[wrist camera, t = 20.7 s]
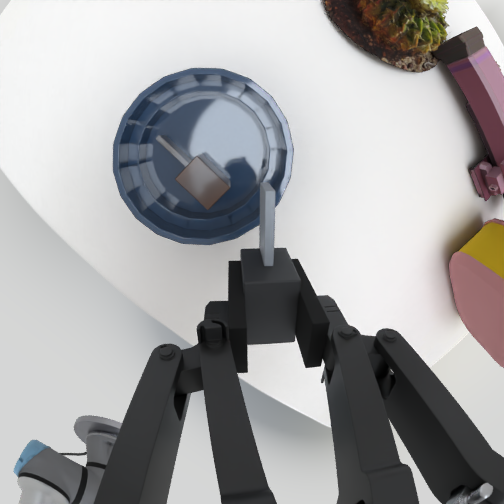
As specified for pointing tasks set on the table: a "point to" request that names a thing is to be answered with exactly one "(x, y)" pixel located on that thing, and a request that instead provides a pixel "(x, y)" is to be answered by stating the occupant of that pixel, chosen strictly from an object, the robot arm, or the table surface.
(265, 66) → the table surface
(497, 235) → the alarm clock
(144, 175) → the bowl
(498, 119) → the electronic device
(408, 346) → the robot arm
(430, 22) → the cactus
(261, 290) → the cube with grey tab
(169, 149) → the blade walnut
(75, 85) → the table surface
